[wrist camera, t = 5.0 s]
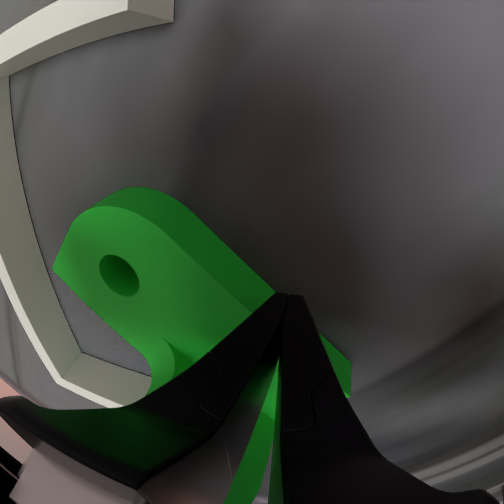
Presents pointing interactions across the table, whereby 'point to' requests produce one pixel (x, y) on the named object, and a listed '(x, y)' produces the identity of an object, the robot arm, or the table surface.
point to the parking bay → (15, 206)
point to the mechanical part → (172, 296)
